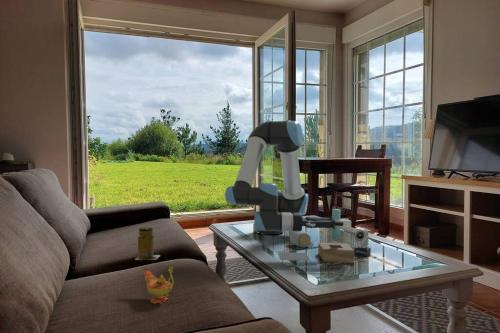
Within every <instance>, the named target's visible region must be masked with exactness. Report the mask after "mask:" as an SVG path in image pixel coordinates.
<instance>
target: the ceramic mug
mask: <svg viewBox="0 0 500 333" xmlns="http://www.w3.org/2000/svg"><path fill="white" fill-rule="evenodd" d="M289 242H290V244H292V245H294V246H297V247H299V248H303V249H304V248H307V247H309V246H312V247H313V246H314V245H315V243H314V242H313V241H312V239H311V235H310V234H309V233H308V232H306V231H304V230H302V231H293V230H291V231H290V233H289Z"/></svg>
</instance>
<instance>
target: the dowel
mask: <svg viewBox="0 0 500 333" xmlns="http://www.w3.org/2000/svg"><path fill="white" fill-rule="evenodd" d="M331 212H332V214H331V217H332V221H333V220H334V221H335V220H340V219H341V208H340V209H339V208H333V209H332V211H331ZM331 239H332V240H336V241H340V239H341V227H335V229H333V228H331Z"/></svg>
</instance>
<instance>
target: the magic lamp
mask: <svg viewBox="0 0 500 333" xmlns="http://www.w3.org/2000/svg"><path fill="white" fill-rule="evenodd" d="M173 269H174V267H173V266H169V268H168V272H169V278H168V280H166V277H165V276H164V275H163V274H160V276H159V278H158V277H156V276H155V275H154V274H153V273H152V272H151V271H150V270H149V269H148V268H146V267H142V268H141V271H142V272H143V274H144V275H143V276H144V279H145V283H146V289H147V291H148V292H149V294H151V295H153V296H154V297H152V298H151V299H150V303H152V304H156V303H160V304H162V303H161V302H165V301H166V300H167V299H168V298H169V295H170V294H169V293H170V292H171V291H172V289H173V286H174V283H175V282H174V278H173V274H172V273H174V272H173ZM170 281H172V282H170ZM167 297H168V298H167ZM165 303H166V302H165Z"/></svg>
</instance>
